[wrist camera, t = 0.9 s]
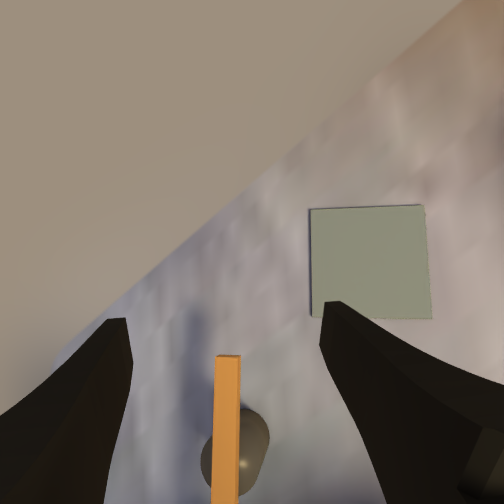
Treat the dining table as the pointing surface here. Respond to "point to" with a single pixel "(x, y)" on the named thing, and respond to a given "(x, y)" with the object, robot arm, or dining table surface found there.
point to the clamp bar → (226, 430)
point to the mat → (371, 261)
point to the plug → (243, 450)
